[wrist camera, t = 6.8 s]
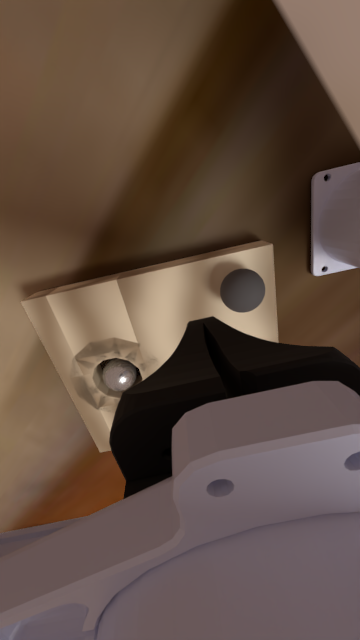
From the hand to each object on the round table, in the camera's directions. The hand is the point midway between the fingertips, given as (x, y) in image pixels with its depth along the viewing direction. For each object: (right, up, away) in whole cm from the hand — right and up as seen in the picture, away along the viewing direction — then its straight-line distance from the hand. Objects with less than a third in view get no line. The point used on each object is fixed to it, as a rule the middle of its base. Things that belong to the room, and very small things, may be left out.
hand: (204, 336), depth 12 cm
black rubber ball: (+3, +3, +6) cm, 7 cm away
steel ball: (-7, -4, +11) cm, 14 cm away
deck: (-2, -3, +13) cm, 13 cm away
